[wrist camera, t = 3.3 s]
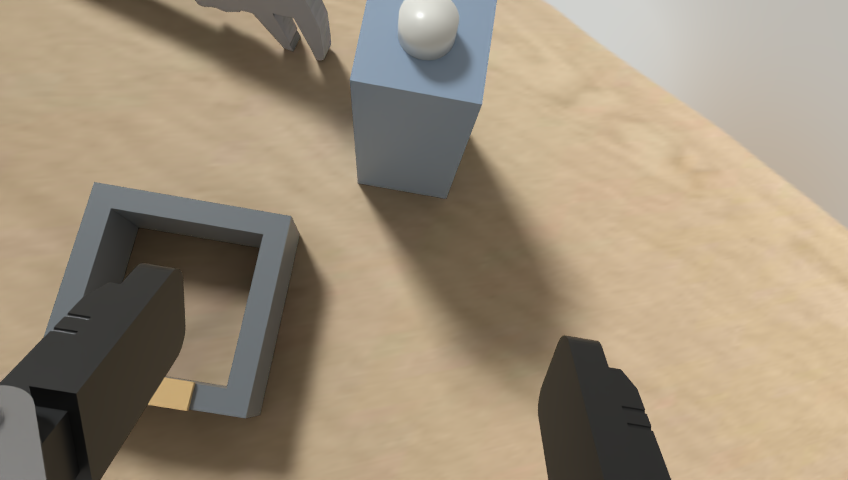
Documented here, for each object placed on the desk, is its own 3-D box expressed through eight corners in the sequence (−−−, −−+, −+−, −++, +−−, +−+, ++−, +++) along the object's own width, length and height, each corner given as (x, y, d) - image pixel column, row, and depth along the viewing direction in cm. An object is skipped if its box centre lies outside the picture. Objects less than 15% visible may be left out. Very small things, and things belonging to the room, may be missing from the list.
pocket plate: (259, 416, 26) (243, 419, 23) (67, 385, 25) (24, 385, 22) (299, 234, 28) (290, 214, 25) (123, 203, 28) (91, 180, 25)
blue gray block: (446, 198, 29) (487, 89, 19) (357, 183, 29) (348, 63, 18) (458, 118, 30) (504, -28, 20) (373, 103, 30) (373, -53, 20)
